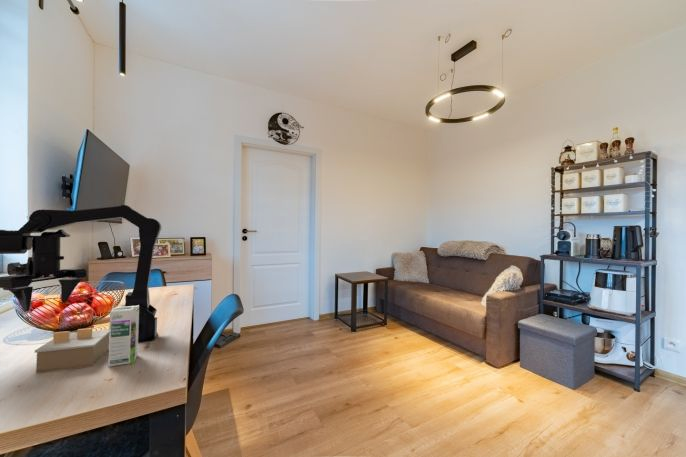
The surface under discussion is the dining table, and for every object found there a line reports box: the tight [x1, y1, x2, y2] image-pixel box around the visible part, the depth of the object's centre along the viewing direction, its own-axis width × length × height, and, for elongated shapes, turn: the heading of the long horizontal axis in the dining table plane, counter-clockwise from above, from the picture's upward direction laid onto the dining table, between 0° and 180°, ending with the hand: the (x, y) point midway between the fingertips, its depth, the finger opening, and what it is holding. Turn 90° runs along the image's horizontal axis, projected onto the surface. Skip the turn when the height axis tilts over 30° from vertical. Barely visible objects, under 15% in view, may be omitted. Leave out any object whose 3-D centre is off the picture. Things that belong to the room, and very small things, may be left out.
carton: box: [35, 334, 109, 374], centre depth 78 cm, size 11×12×5 cm
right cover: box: [48, 327, 110, 342], centre depth 81 cm, size 12×6×3 cm, turn 113°
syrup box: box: [107, 305, 139, 368], centre depth 78 cm, size 6×6×14 cm
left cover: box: [34, 330, 103, 354], centre depth 75 cm, size 12×6×3 cm, turn 113°
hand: (46, 306), depth 83 cm, fingers open, 9 cm apart
